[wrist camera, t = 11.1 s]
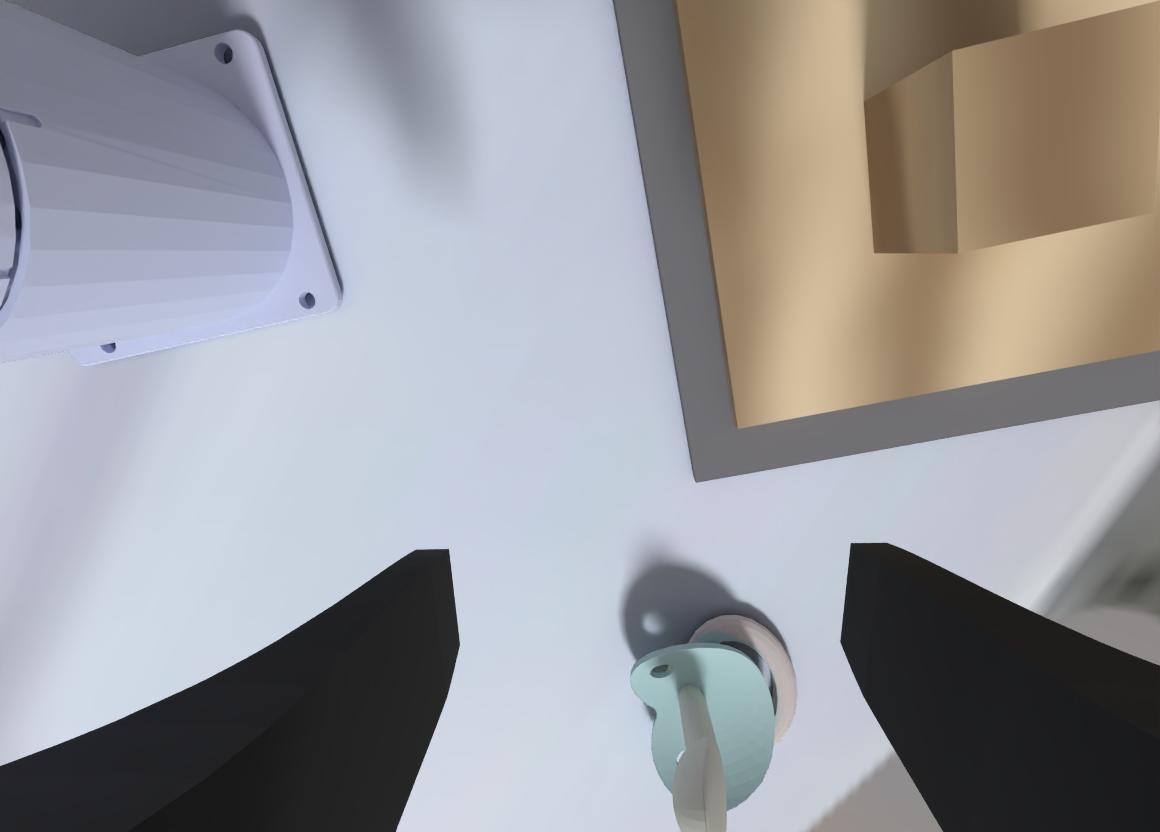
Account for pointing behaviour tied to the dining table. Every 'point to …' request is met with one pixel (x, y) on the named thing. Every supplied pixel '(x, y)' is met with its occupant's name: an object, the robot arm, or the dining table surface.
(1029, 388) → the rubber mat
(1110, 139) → the oak lid
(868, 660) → the robot arm
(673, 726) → the pacifier
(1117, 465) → the dining table surface
